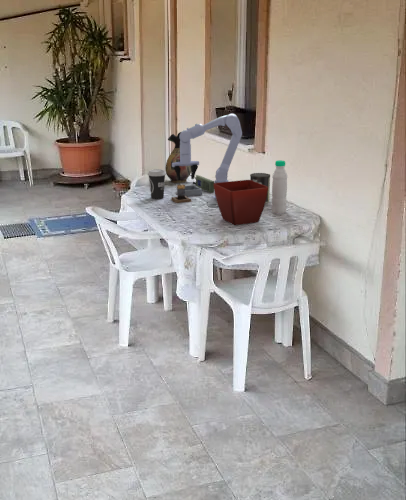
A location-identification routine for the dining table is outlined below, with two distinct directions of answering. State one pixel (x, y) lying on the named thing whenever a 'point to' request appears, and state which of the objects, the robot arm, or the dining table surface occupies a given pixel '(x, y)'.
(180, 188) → the battery cell
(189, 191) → the cell bin
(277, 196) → the water bottle
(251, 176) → the coffee can
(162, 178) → the coffee cup
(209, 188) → the handheld radio
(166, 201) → the dining table surface
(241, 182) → the plant pot
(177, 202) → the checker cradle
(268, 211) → the dining table surface
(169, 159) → the ceramic jug
